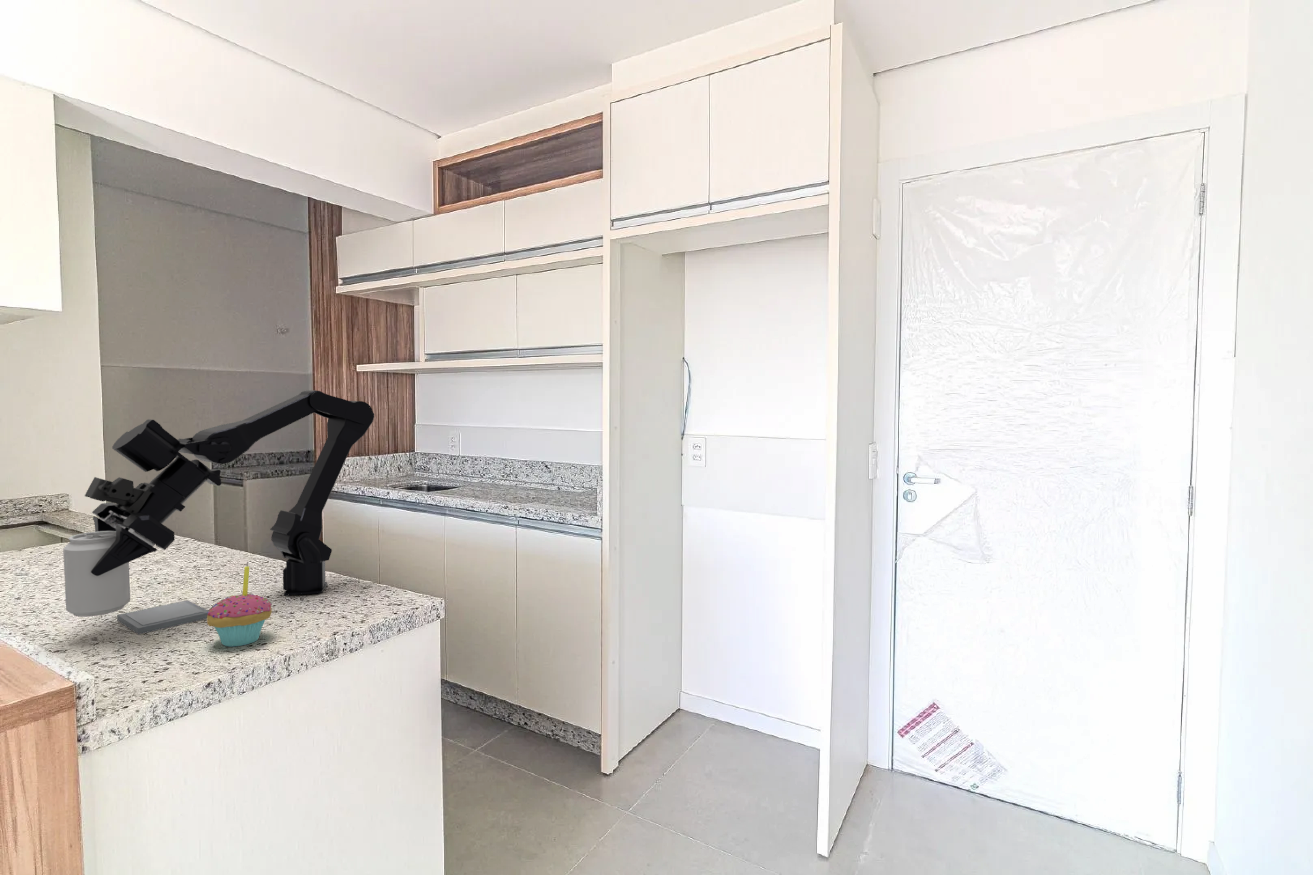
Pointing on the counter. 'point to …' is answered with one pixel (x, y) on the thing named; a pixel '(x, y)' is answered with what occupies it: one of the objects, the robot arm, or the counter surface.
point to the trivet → (162, 616)
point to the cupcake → (240, 616)
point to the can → (93, 576)
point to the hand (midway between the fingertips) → (85, 569)
